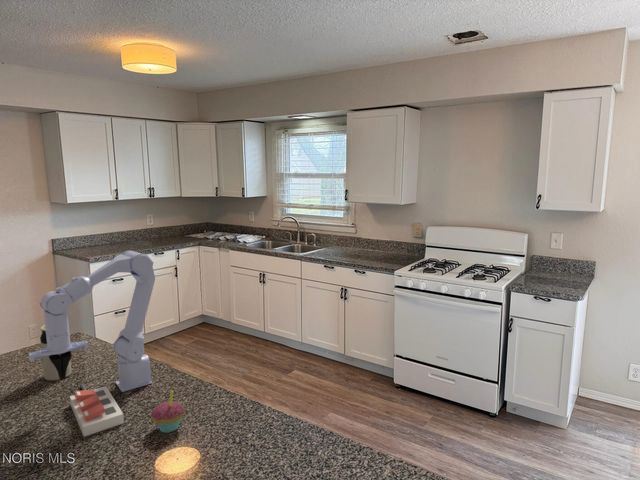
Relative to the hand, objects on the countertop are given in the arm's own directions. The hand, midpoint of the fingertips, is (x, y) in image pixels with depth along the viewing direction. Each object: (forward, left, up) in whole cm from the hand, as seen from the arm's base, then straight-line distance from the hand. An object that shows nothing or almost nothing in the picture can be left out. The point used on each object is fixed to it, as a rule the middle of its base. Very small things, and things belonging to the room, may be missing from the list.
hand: (62, 377), depth 126 cm
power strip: (-7, +3, -10) cm, 12 cm away
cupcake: (-21, +29, -10) cm, 37 cm away
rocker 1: (-5, +3, -6) cm, 8 cm away
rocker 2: (-5, +15, -6) cm, 17 cm away
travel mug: (-2, -25, -10) cm, 27 cm away
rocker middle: (-5, +9, -6) cm, 12 cm away
